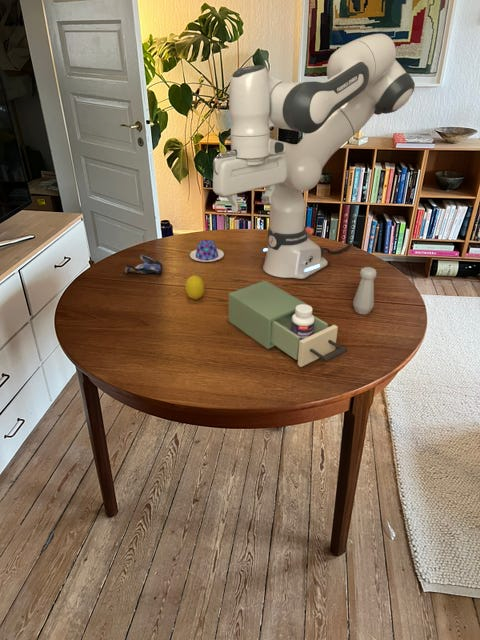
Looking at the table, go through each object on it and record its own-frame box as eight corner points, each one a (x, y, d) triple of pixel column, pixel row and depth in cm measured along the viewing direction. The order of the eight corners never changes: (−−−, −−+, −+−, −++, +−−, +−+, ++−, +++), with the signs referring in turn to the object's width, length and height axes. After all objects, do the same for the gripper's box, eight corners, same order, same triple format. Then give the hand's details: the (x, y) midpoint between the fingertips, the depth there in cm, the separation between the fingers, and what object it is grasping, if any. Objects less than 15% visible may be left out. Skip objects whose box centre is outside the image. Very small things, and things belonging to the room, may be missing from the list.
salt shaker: (350, 313, 130) (356, 271, 123) (353, 304, 134) (359, 263, 127) (371, 317, 128) (378, 275, 121) (373, 307, 132) (381, 266, 126)
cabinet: (304, 332, 122) (307, 303, 117) (267, 349, 115) (268, 319, 111) (264, 307, 133) (265, 280, 128) (228, 321, 126) (228, 293, 122)
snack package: (137, 262, 159) (119, 276, 150) (138, 245, 156) (119, 258, 146) (169, 273, 157) (152, 287, 147) (170, 256, 153) (154, 269, 144)
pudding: (189, 264, 158) (188, 249, 155) (190, 250, 168) (189, 236, 165) (224, 263, 159) (224, 248, 156) (223, 249, 169) (222, 235, 166)
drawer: (351, 360, 110) (355, 336, 106) (317, 378, 104) (320, 354, 100) (292, 323, 124) (293, 301, 120) (258, 337, 118) (259, 314, 114)
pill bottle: (297, 350, 111) (299, 316, 106) (286, 339, 115) (288, 305, 110) (316, 345, 113) (319, 311, 108) (305, 334, 117) (308, 300, 112)
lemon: (202, 305, 134) (200, 280, 130) (183, 303, 135) (181, 278, 131) (207, 296, 139) (206, 271, 134) (189, 294, 140) (187, 270, 135)
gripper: (222, 155, 98) (225, 219, 105) (291, 143, 109) (290, 201, 116) (205, 152, 102) (209, 213, 109) (273, 140, 113) (273, 197, 120)
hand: (251, 207), depth 112 cm, fingers open, 8 cm apart
